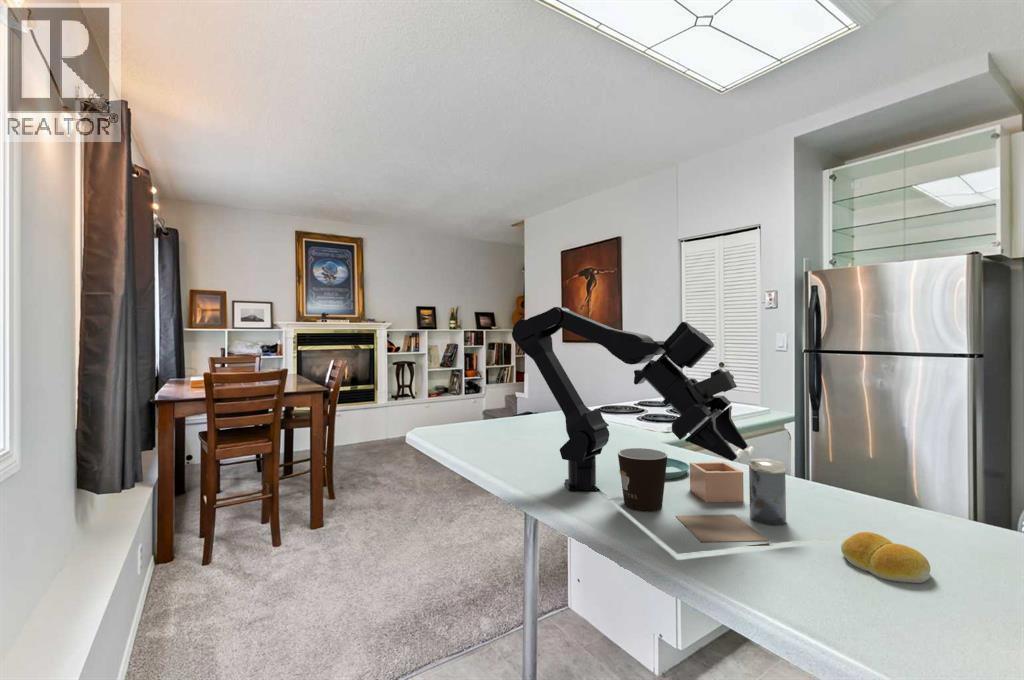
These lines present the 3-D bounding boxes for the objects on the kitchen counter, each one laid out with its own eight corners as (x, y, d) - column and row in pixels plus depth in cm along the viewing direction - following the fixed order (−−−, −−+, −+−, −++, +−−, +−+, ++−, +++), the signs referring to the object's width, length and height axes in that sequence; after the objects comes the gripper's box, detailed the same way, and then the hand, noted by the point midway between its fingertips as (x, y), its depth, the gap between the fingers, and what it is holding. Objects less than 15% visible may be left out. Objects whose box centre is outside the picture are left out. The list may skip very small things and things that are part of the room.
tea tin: (743, 517, 78) (742, 458, 78) (773, 516, 78) (772, 458, 78) (761, 530, 72) (760, 467, 72) (793, 529, 73) (792, 466, 73)
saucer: (700, 484, 97) (700, 472, 97) (630, 485, 97) (630, 472, 97) (676, 466, 111) (676, 455, 111) (615, 466, 111) (615, 455, 111)
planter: (690, 493, 91) (689, 462, 91) (725, 492, 91) (724, 462, 91) (705, 505, 84) (705, 472, 84) (743, 505, 84) (743, 472, 84)
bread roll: (906, 592, 55) (905, 559, 55) (831, 559, 63) (830, 530, 63) (947, 579, 58) (947, 547, 58) (870, 549, 66) (870, 521, 66)
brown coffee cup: (671, 519, 77) (670, 460, 77) (619, 516, 79) (618, 458, 79) (663, 496, 89) (662, 445, 89) (617, 494, 90) (616, 443, 90)
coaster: (675, 520, 77) (675, 515, 77) (734, 519, 77) (734, 514, 77) (701, 547, 67) (701, 541, 67) (769, 545, 67) (769, 540, 67)
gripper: (689, 356, 73) (769, 432, 67) (717, 353, 88) (785, 414, 82) (643, 402, 78) (713, 477, 71) (677, 392, 93) (738, 453, 86)
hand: (740, 453), depth 78 cm, fingers open, 9 cm apart
